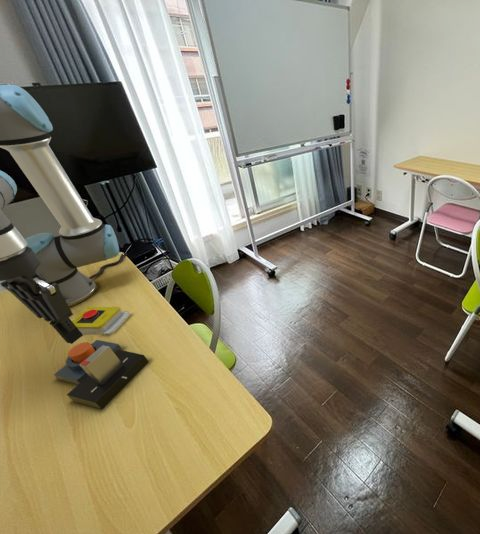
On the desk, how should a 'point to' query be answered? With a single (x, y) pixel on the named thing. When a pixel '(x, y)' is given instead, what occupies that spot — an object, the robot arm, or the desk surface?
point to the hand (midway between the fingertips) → (75, 338)
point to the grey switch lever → (101, 365)
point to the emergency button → (100, 320)
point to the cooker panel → (108, 382)
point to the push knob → (81, 352)
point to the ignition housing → (75, 371)
